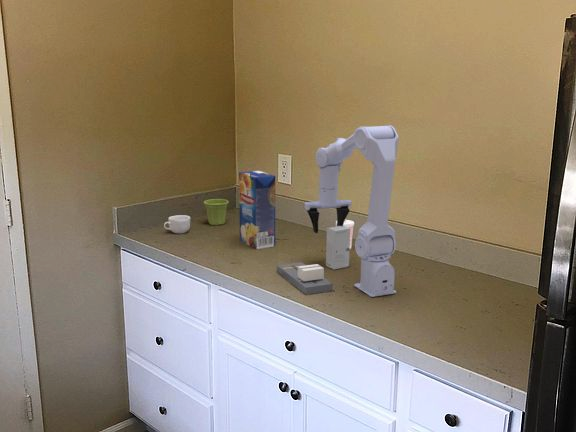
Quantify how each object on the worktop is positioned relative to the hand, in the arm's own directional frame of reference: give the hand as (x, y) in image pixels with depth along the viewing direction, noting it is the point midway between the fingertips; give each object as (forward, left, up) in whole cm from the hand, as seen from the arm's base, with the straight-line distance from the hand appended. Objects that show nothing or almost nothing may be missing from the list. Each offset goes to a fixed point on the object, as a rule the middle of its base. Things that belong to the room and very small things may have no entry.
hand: (327, 231), depth 186 cm
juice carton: (+28, +13, -10) cm, 32 cm away
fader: (-17, +14, -8) cm, 23 cm away
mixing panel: (-12, +14, -10) cm, 21 cm away
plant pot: (+59, +18, -10) cm, 62 cm away
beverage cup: (+12, -12, -10) cm, 20 cm away
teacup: (+52, +35, -10) cm, 63 cm away
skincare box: (-4, -1, -10) cm, 11 cm away
